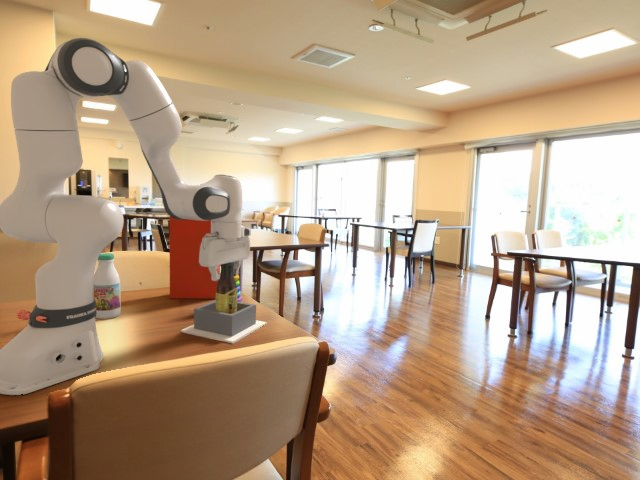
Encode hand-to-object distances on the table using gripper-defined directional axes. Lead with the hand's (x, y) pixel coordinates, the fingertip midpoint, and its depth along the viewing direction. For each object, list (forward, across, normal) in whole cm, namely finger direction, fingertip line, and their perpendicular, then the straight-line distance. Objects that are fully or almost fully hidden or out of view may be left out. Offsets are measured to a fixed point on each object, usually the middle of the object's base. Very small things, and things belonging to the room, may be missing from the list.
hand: (225, 277), depth 115 cm
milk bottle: (+16, -8, +39) cm, 43 cm away
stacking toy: (+15, +18, +11) cm, 26 cm away
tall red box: (+15, +24, +31) cm, 42 cm away
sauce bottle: (+15, +1, 0) cm, 15 cm away
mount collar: (+16, 0, 0) cm, 16 cm away
